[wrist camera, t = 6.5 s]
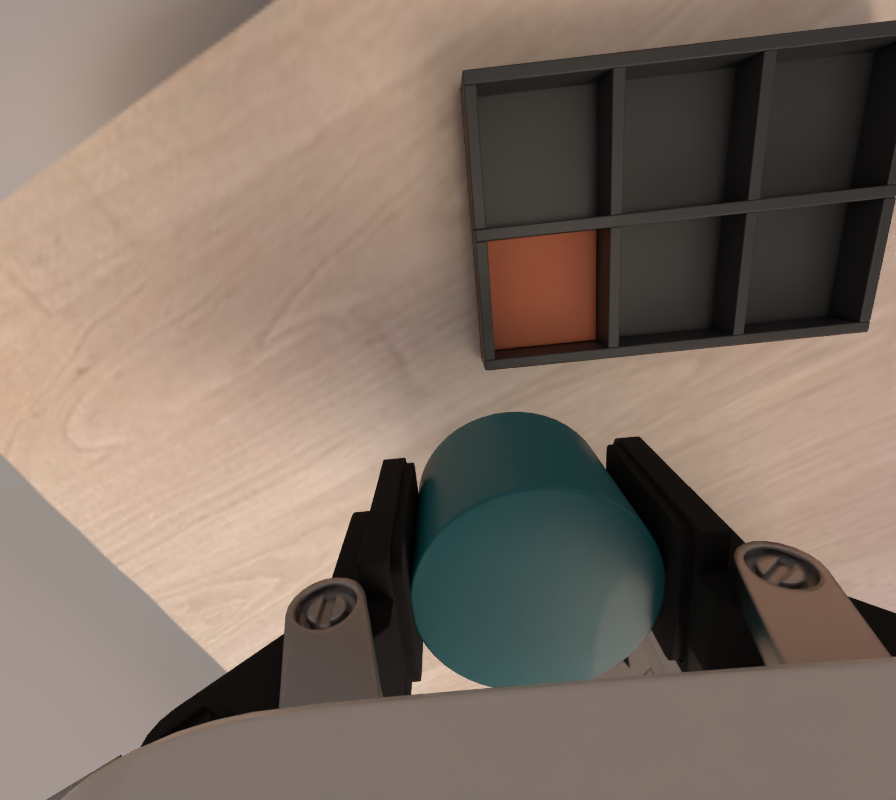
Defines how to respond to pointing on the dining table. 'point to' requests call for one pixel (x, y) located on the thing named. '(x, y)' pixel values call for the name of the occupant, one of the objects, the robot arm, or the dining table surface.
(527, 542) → the cylinder
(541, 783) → the robot arm
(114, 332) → the dining table surface
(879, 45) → the grid
